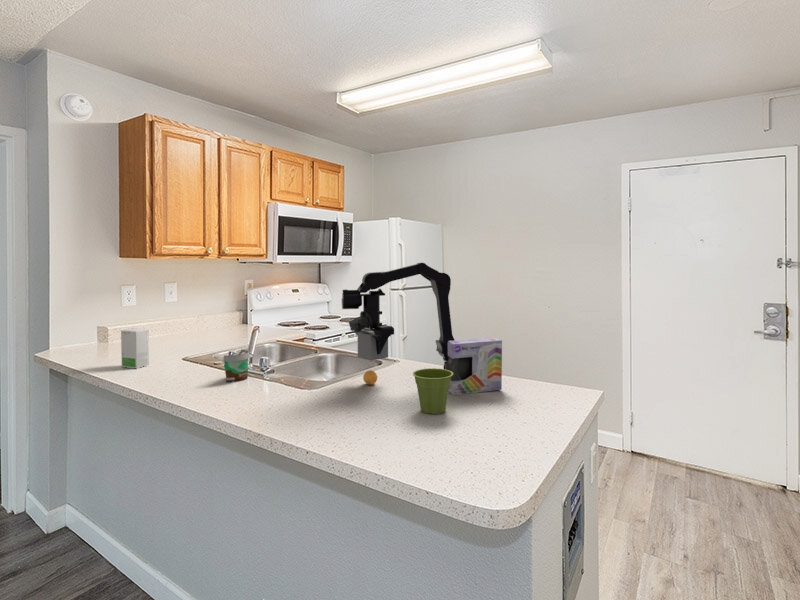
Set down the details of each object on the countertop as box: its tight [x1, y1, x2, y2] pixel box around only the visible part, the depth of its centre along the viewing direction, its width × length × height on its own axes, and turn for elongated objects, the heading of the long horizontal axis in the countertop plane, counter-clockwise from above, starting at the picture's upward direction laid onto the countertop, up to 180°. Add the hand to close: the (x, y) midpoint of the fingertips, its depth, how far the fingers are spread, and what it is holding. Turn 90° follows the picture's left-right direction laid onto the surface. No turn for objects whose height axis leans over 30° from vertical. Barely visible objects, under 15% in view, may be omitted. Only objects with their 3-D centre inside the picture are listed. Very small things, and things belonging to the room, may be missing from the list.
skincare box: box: [120, 327, 150, 369], centre depth 185 cm, size 8×7×16 cm
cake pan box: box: [447, 337, 503, 396], centre depth 149 cm, size 19×5×18 cm, turn 105°
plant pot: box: [412, 367, 453, 415], centre depth 130 cm, size 12×12×11 cm
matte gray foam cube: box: [357, 331, 389, 362], centre depth 158 cm, size 8×8×9 cm
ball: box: [362, 369, 378, 386], centre depth 158 cm, size 5×5×5 cm
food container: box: [222, 349, 251, 383], centre depth 165 cm, size 12×6×10 cm, turn 168°
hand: (371, 352), depth 158 cm, fingers closed on matte gray foam cube, 8 cm apart
